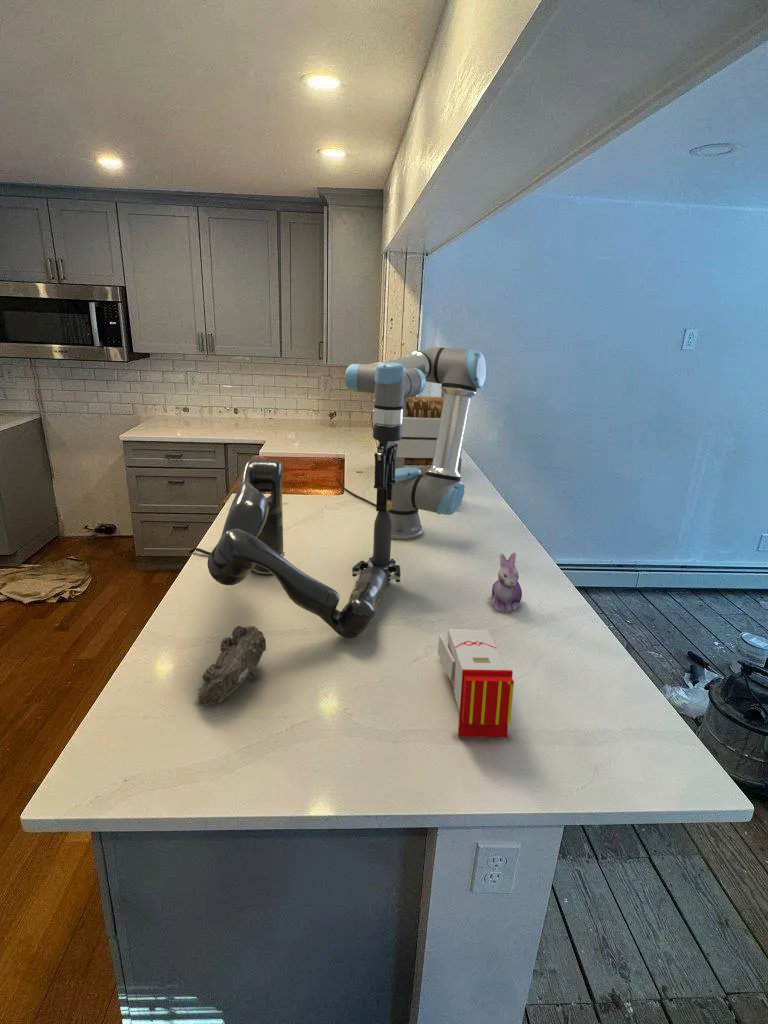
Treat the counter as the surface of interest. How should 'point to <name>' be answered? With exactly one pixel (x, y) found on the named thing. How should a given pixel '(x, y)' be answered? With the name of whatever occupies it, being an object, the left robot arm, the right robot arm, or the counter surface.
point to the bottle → (382, 539)
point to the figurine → (506, 586)
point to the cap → (389, 505)
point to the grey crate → (420, 431)
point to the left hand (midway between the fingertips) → (383, 560)
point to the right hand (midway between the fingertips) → (383, 508)
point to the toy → (478, 682)
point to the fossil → (232, 664)
